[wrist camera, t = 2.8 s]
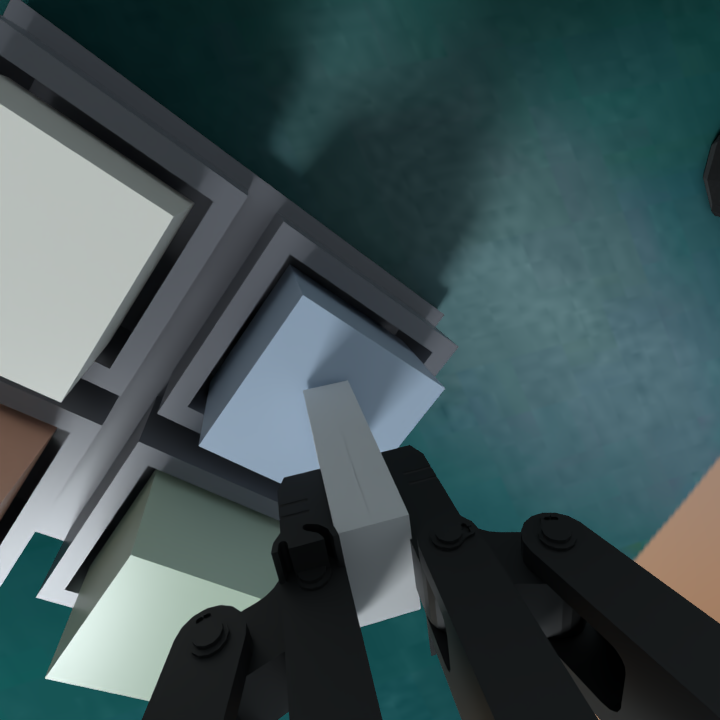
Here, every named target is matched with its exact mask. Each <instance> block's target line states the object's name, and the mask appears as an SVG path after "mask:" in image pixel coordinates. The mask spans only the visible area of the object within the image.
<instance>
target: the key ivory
mask: <svg viewBox="0 0 720 720" xmlns="http://www.w3.org/2000/svg"><path fill="white" fill-rule="evenodd" d="M194 204H195V203H194V202H192V201H191V200H190V199H188V198H187V197H185V196H184V195H182V194H181V193H179V192H178V191H176V190H175V189H173V188H172V187H170V186H169V185H167V184H166V183H164V182H163V181H161V180H160V179H158V178H157V177H155V176H154V175H152V174H151V173H150V172H148V171H147V170H145V169H144V168H142V167H141V166H139V165H138V164H136V163H135V162H133V161H132V160H130V159H129V158H127V157H126V156H124V155H123V154H121V153H120V152H118V151H117V150H115V149H114V148H113V147H111V146H110V145H108V144H107V143H105V142H104V141H102V140H101V139H99V138H98V137H96V136H95V135H93V134H92V133H90V132H89V131H87V130H86V129H84V128H83V127H81V126H80V125H78V124H77V123H75V122H74V121H73V120H71V119H70V118H68V117H67V116H65V115H64V114H62V113H61V112H59V111H58V110H56V109H55V108H53V107H52V106H50V105H49V104H47V103H46V102H44V101H43V100H41V99H40V98H38V97H37V96H35V95H34V94H33V93H31V92H30V91H28V90H27V89H25V88H24V87H22V86H21V85H19V84H18V83H16V82H15V81H13V80H12V79H10V78H9V77H6V76H4V75H1V74H0V376H2V377H4V378H6V379H9V380H11V381H13V382H15V383H18V384H20V385H22V386H25V387H27V388H29V389H31V390H34V391H36V392H38V393H40V394H43V395H45V396H47V397H49V398H52V399H54V400H56V401H59V402H62V401H63V400H64V398H65V397H66V396H67V395H68V393H69V392H70V391H71V390H72V388H73V387H74V386H75V385H76V383H77V382H78V381H79V380H80V378H81V377H82V376H83V375H84V373H85V372H86V371H87V370H88V368H89V367H90V366H91V365H92V363H93V362H94V361H95V360H96V358H97V357H98V356H99V355H100V353H101V352H102V351H103V350H104V348H105V347H106V346H107V345H108V343H109V342H110V341H111V339H112V338H113V336H114V334H115V333H116V331H117V329H118V328H119V326H120V324H121V323H122V321H123V320H124V318H125V316H126V315H127V313H128V311H129V310H130V308H131V306H132V305H133V303H134V302H135V300H136V298H137V297H138V295H139V293H140V292H141V290H142V289H143V287H144V285H145V284H146V282H147V280H148V279H149V277H150V275H151V274H152V272H153V271H154V269H155V267H156V266H157V264H158V262H159V261H160V259H161V257H162V256H163V254H164V253H165V251H166V249H167V248H168V246H169V244H170V243H171V241H172V239H173V238H174V236H175V235H176V233H177V231H178V230H179V228H180V226H181V225H182V223H183V221H184V220H185V218H186V217H187V215H188V213H189V212H190V210H191V208H192V207H193V205H194Z"/></svg>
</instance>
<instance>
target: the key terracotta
mask: <svg viewBox="0 0 720 720" xmlns="http://www.w3.org/2000/svg"><path fill="white" fill-rule="evenodd" d="M56 429H57V427H55V426H53V425H50V424H48V423H46V422H43V421H41V420H38V419H36V418H34V417H31V416H29V415H26V414H24V413H22V412H19V411H17V410H15V409H12V408H10V407H7V406H5V405H3V404H0V521H1V519H2V517H3V516H4V514H5V512H6V511H7V509H8V508H9V506H10V504H11V503H12V501H13V499H14V498H15V496H16V494H17V493H18V491H19V490H20V488H21V486H22V485H23V483H24V481H25V480H26V478H27V476H28V475H29V473H30V472H31V470H32V468H33V467H34V465H35V463H36V462H37V460H38V458H39V457H40V455H41V454H42V452H43V450H44V449H45V447H46V445H47V444H48V442H49V440H50V439H51V437H52V436H53V434H54V432H55V431H56Z"/></svg>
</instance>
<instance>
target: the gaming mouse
mask: <svg viewBox="0 0 720 720" xmlns="http://www.w3.org/2000/svg"><path fill="white" fill-rule="evenodd" d="M703 179H704V183H705V187H706V191H707V195H708V199H709V203H710V207H711V211H712V212H713V214H714V215H715V216H719V217H720V135H719V136H718V137H717V139H716V140H715V141H714V143H713V144H712V146H711V149H710V153H709V157H708V161H707V165H706V168H705V172H704V176H703Z"/></svg>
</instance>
